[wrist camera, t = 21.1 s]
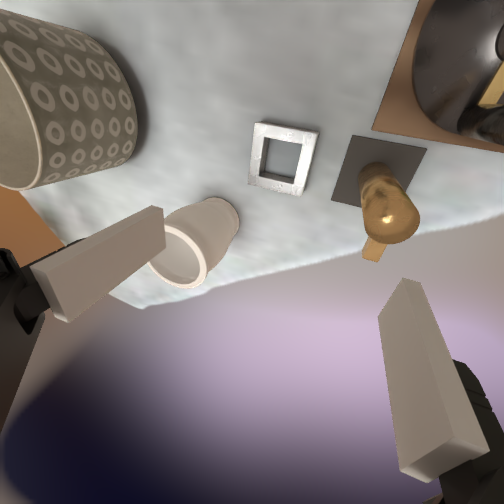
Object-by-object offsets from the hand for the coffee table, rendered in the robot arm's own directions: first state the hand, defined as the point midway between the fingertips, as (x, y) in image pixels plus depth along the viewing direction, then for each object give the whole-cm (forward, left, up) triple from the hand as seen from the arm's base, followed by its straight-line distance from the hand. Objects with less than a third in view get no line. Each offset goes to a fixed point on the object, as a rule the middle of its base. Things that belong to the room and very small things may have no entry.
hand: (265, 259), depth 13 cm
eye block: (0, -5, -27) cm, 27 cm away
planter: (-2, -38, -27) cm, 47 cm away
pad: (0, +8, -27) cm, 28 cm away
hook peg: (+1, +8, -26) cm, 28 cm away
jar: (+13, -15, -27) cm, 33 cm away
